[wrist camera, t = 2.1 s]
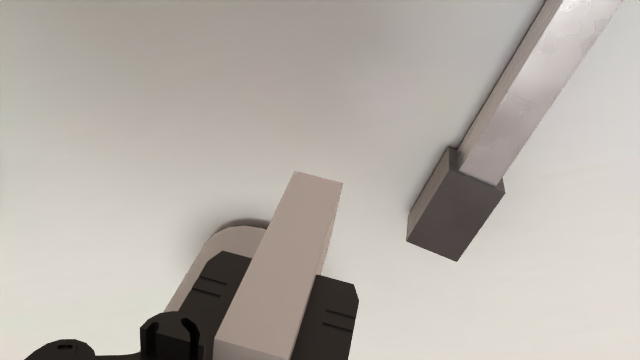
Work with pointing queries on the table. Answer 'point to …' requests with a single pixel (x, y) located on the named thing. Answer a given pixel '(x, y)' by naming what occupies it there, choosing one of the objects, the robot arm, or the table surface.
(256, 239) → the can
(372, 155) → the table surface
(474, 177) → the tongs arm
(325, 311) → the robot arm
